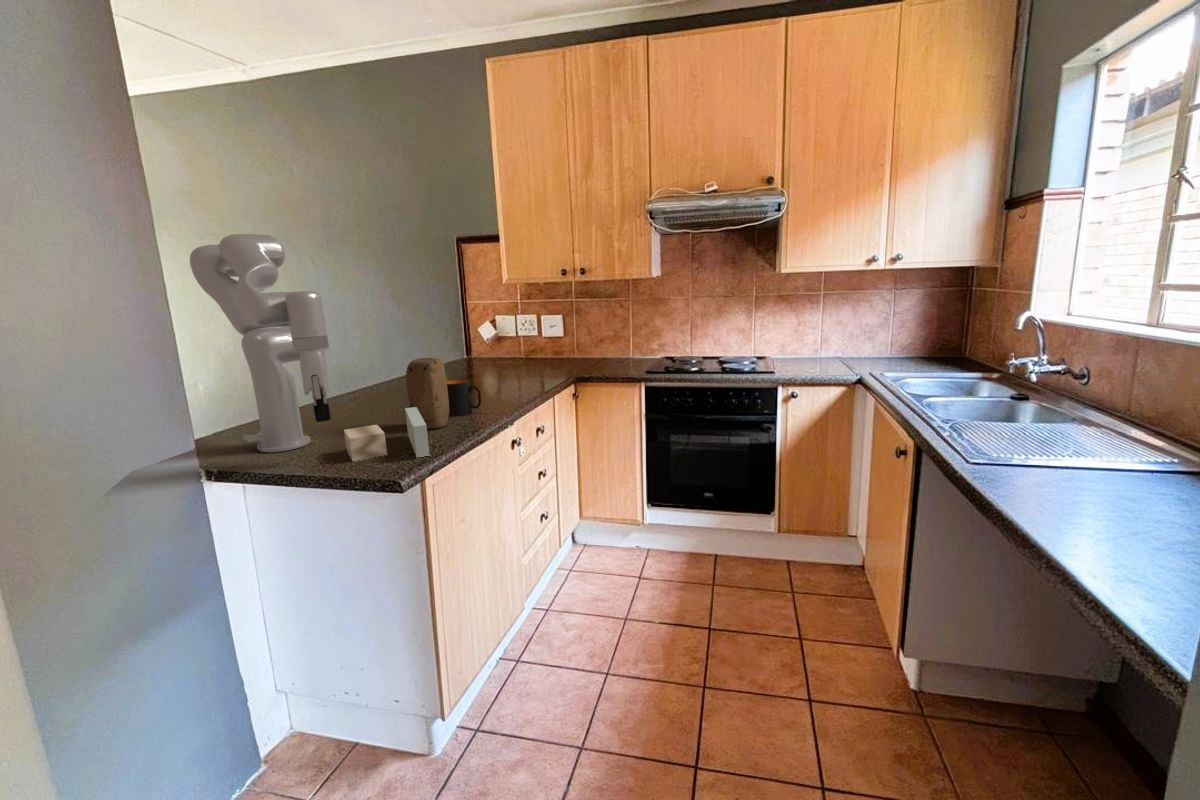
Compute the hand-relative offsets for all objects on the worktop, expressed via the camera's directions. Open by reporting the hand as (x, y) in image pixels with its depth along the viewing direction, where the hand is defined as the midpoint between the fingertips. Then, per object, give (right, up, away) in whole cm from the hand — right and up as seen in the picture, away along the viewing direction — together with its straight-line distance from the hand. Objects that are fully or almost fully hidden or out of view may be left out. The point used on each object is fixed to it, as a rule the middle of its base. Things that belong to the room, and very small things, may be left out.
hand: (323, 420), depth 136 cm
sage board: (+19, -7, +11) cm, 23 cm away
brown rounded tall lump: (+17, -3, +30) cm, 35 cm away
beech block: (+8, -9, +6) cm, 13 cm away
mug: (+23, 0, +45) cm, 50 cm away
